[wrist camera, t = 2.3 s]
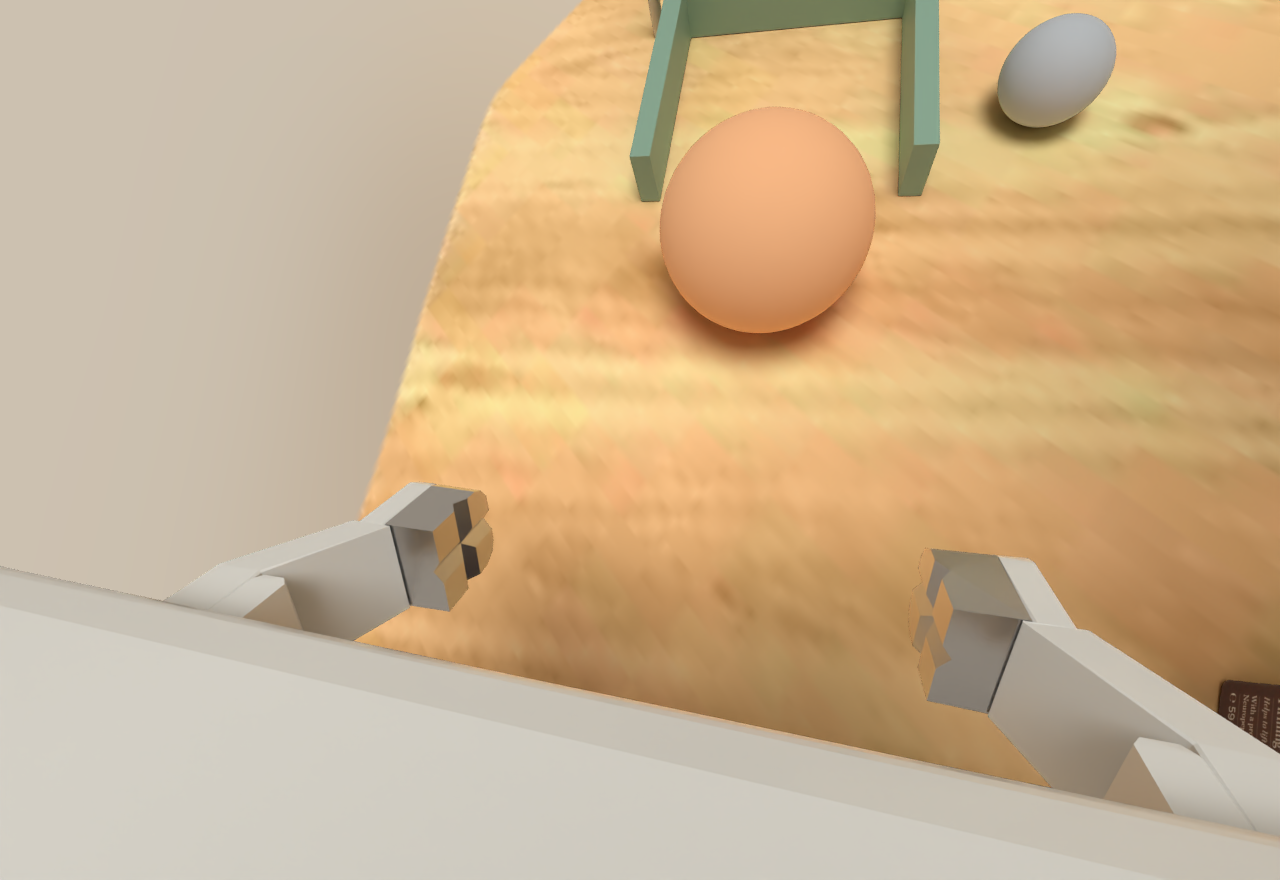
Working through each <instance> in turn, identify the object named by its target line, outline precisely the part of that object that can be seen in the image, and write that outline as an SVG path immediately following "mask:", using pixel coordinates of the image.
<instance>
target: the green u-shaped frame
mask: <svg viewBox="0 0 1280 880" xmlns="http://www.w3.org/2000/svg"><path fill="white" fill-rule="evenodd" d="M648 4H649V10H650V15H651V21H652V27H653V32H654V37H655V42H654V47H653V52H652V56H651V61H650V65H649V70H648V75H647V79H646V84H645V88H644V93H643V97H642V102H641V107H640V111H639V116H638V120H637V125H636V130H635V134H634V139H633V143H632V148H631V153H630V160H631V164H632V168H633V171H634V175H635V179H636V182H637V186H638V190H639V193H640V197H641V201H660V198H661V192H662V187H663V182H664V177H665V171H666V166H667V161H668V156H669V150H670V145H671V140H672V135H673V129H674V124H675V119H676V113H677V108H678V103H679V98H680V92H681V87H682V82H683V77H684V71H685V66H686V61H687V56H688V50H689V45H690V40H691V38H693V37H703V36H714V35H724V34H735V33H745V32H756V31H766V30H777V29H787V28H798V27H808V26H819V25H829V24H840V23H850V22H861V21H871V20H882V19H892V18H902V48H901V93H900V137H899V181H898V196H920V195H921V194H922V191H923V189H924V186H925V183H926V180H927V178H928V175H929V172H930V169H931V167H932V164H933V161H934V158H935V155H936V153H937V150H938V147H939V144H940V120H939V0H664V1H663V6H662V10H661V5H660V0H648Z"/></svg>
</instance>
